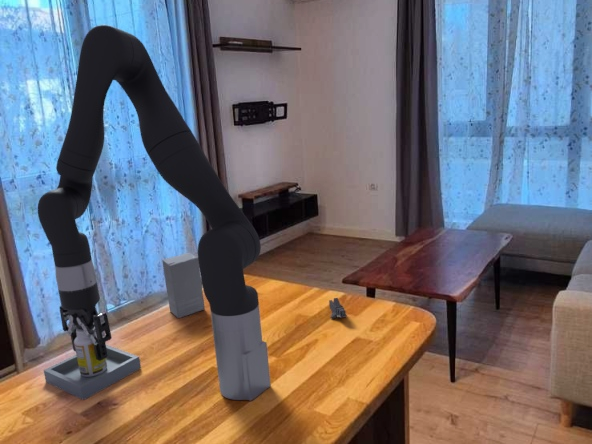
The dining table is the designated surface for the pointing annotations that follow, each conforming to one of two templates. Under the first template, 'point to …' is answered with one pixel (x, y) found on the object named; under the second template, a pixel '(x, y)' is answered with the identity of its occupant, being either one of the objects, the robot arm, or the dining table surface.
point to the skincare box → (183, 284)
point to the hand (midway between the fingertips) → (90, 354)
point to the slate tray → (84, 387)
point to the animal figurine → (336, 309)
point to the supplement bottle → (87, 355)
